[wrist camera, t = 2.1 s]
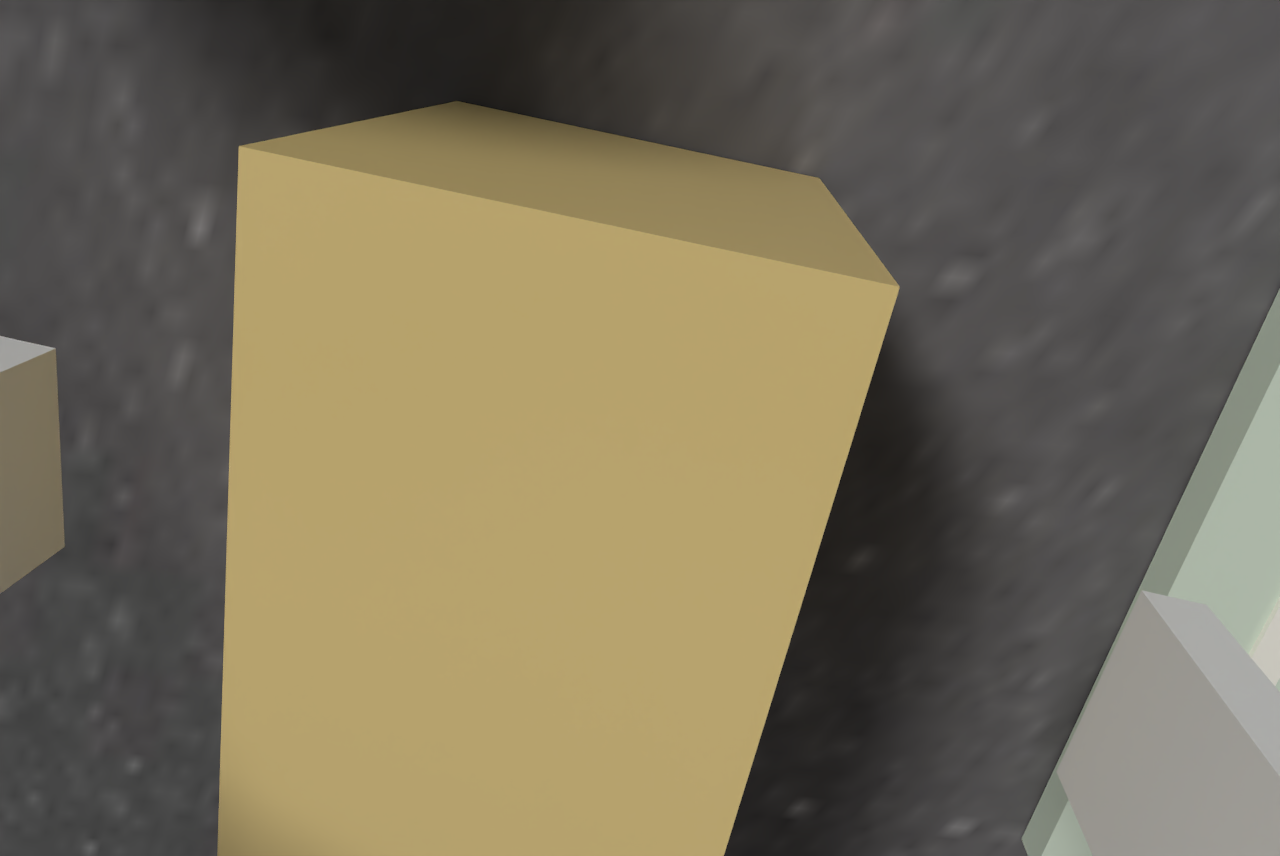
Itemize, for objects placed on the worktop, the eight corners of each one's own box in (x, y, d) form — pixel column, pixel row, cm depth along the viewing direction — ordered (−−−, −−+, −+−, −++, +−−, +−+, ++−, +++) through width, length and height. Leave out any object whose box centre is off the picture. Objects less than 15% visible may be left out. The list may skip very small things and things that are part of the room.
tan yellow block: (400, 597, 18) (215, 914, 11) (457, 100, 14) (239, 145, 8) (692, 660, 18) (675, 1012, 11) (819, 177, 14) (899, 286, 8)
